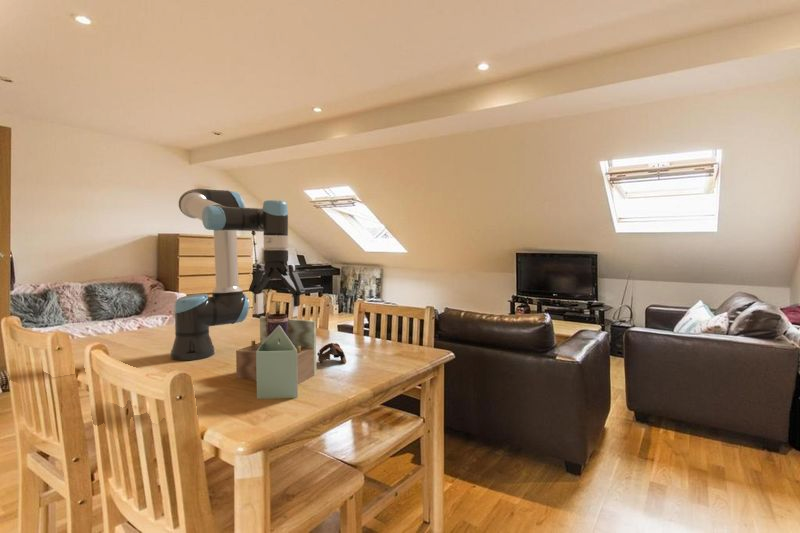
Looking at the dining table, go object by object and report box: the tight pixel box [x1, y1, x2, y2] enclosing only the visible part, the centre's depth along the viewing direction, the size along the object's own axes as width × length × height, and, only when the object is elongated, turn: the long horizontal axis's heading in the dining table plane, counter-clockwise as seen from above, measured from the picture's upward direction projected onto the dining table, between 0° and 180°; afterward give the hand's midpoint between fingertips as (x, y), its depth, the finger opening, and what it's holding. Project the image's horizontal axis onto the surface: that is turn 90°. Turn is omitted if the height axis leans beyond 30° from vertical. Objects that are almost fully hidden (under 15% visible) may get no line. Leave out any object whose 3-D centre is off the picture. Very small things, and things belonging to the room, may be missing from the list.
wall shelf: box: [235, 315, 317, 385], centre depth 137 cm, size 22×13×18 cm, turn 68°
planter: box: [256, 325, 299, 400], centre depth 120 cm, size 16×8×20 cm, turn 52°
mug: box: [265, 311, 289, 343], centre depth 135 cm, size 10×7×12 cm
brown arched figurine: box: [316, 342, 347, 365], centre depth 153 cm, size 12×10×8 cm
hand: (276, 315), depth 135 cm, fingers open, 13 cm apart
